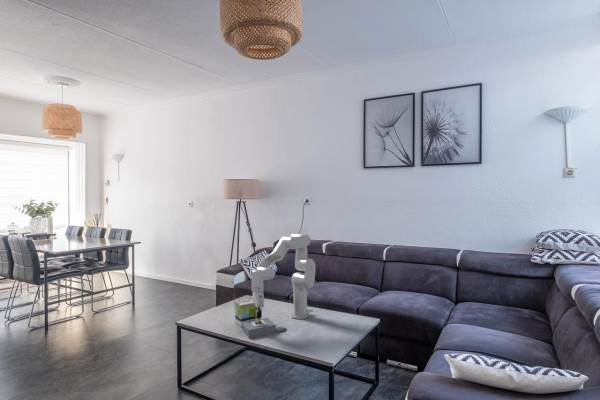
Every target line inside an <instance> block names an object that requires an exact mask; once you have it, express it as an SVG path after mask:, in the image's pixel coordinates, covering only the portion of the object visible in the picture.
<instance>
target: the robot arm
mask: <svg viewBox="0 0 600 400" xmlns="http://www.w3.org/2000/svg"><path fill="white" fill-rule="evenodd" d="M310 244H311V237H310V235H309V234H307V233H301V232H300V233H299V232H294V233H291V234H290V235H284V236H282V237H281V238H280V240H278V243H277V244H276V245H275V248H274V249H273V251H271V253H269V254H267V255H266V256H265V257H263V259H261V261H260V262H259V264H258V265H257V266H256V268H255V269H252V270H251V292H252V299H253V305H254V307H255V317H256V307H257V319H258V318H261V319H263V318H262V317H263V316H262V313H263V312H262V310H263V308H265V297H264V295H265V294H264V281H266V280H267V281H269V280H273V279H274V278H275V276H276V272H275V270H274V269H273V268H271V267H270V266H271V265H272V264H274V263H277V262H280V261H282V260H283V259H284V258H285V256H286V255H287V253H288V251H289V250H295V257H294V258H295V260H294V268H295V270H297V271H300V272H297V271H296V272H294V273H293V274H292V275H291V285H292V290H293V291H292V292H293V294H292V295H293V313H292V314H291V317H292V318H293V319H295V320H305V319H308V318H309V317H310V313H313V312H314V309H313V308H311V309H309V308H308V303H307V302H308V299H307V297H308V295H307V294H308V293H307V289H310V288H311V289H312V287H313V286H314V283H315V277H316V267H317V266H316V262H315V261H314V260H313V259H312V258H308V246H309V245H310ZM259 306H260V307H259ZM258 308H259V309H258Z"/></svg>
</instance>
